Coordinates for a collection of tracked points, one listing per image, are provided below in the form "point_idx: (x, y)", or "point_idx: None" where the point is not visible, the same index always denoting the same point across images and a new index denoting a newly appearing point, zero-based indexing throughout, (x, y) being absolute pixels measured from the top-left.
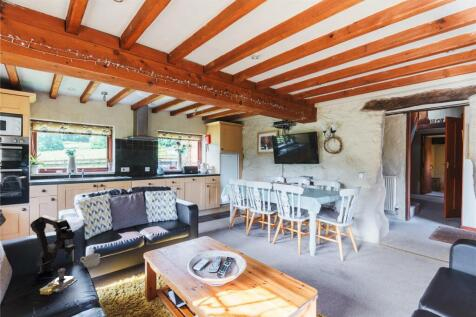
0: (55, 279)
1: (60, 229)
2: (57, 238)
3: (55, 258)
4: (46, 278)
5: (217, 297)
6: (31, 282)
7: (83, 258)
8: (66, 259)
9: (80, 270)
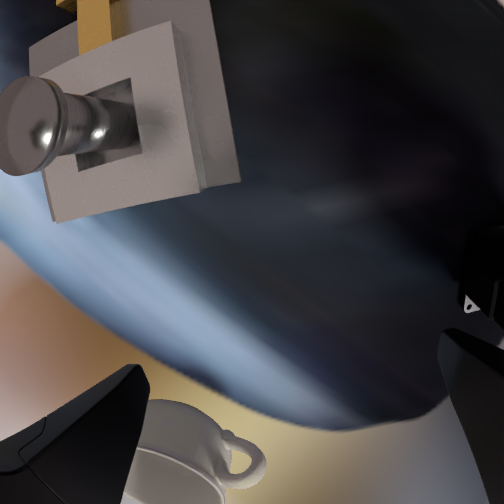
0: (176, 105)
1: None
2: None
3: (441, 356)
4: (389, 160)
5: None
6: (448, 70)
7: (223, 473)
8: (119, 369)
9: (200, 366)
